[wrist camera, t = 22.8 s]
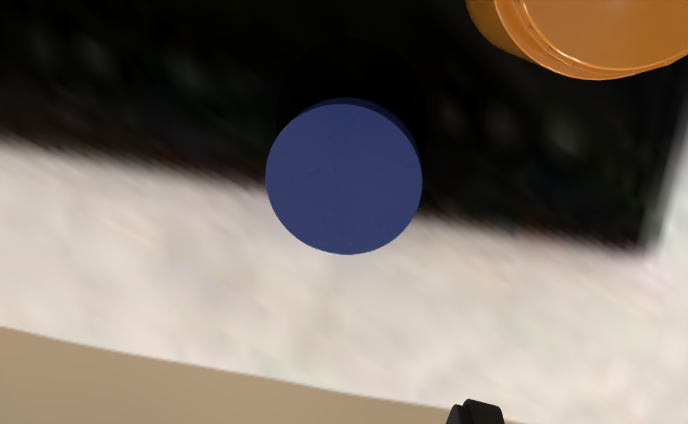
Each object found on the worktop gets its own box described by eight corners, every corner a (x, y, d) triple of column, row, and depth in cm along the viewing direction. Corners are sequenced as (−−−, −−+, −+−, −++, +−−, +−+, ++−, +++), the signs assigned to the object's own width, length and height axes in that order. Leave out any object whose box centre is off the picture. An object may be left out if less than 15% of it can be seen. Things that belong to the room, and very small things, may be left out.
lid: (382, 263, 26) (380, 280, 25) (254, 205, 26) (243, 218, 25) (448, 136, 24) (451, 146, 22) (307, 71, 24) (299, 76, 22)
